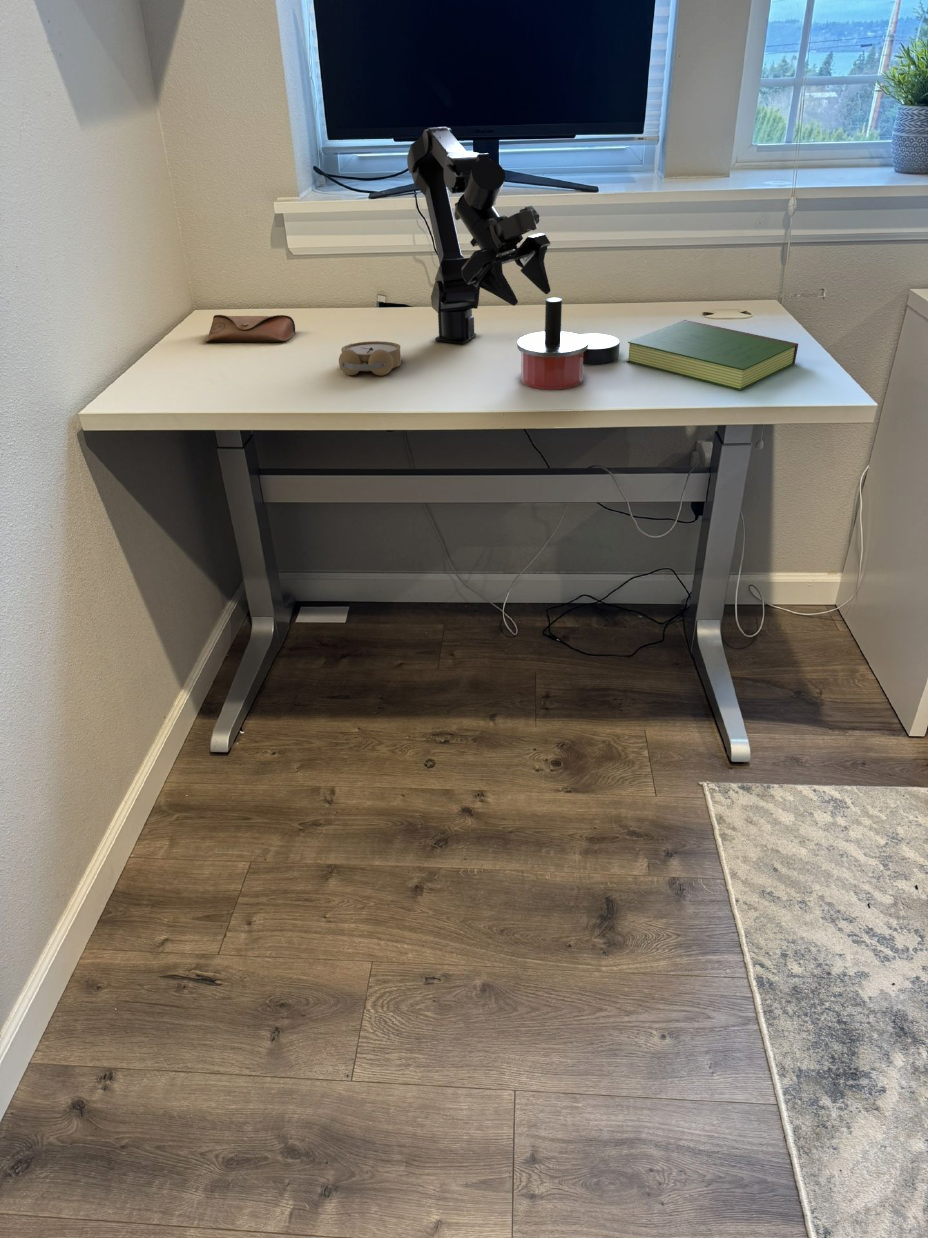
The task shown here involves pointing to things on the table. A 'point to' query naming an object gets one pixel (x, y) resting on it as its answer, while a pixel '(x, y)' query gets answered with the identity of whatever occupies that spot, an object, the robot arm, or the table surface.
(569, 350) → the lid
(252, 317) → the sunglasses case
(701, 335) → the hardcover book
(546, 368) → the red faceted pot
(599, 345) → the stand
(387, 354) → the alarm clock
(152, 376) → the table surface
